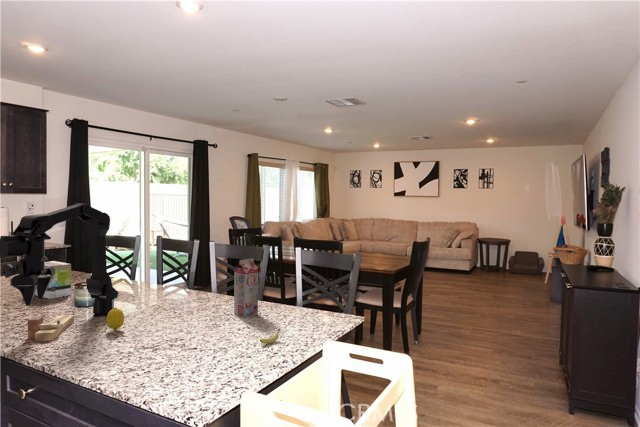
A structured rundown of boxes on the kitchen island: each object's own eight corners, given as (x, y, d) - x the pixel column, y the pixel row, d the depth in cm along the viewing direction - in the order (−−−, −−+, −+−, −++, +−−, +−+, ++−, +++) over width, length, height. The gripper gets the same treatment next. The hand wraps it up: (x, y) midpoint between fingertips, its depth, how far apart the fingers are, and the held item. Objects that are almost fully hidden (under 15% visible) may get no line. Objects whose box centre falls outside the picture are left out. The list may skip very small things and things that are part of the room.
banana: (278, 339, 141) (278, 327, 141) (281, 340, 140) (281, 328, 140) (258, 345, 135) (258, 332, 135) (262, 346, 134) (262, 334, 134)
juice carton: (257, 314, 170) (258, 259, 169) (244, 317, 165) (244, 261, 164) (247, 310, 174) (248, 257, 173) (234, 314, 169) (234, 259, 168)
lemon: (106, 334, 143) (106, 310, 143) (106, 329, 148) (106, 306, 148) (124, 331, 146) (124, 308, 145) (123, 327, 150) (123, 304, 150)
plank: (74, 321, 156) (73, 315, 156) (52, 340, 136) (52, 332, 136) (58, 322, 155) (58, 315, 154) (35, 341, 135) (34, 333, 135)
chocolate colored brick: (63, 333, 143) (63, 315, 143) (58, 337, 139) (58, 319, 139) (33, 334, 141) (32, 316, 141) (27, 338, 137) (27, 320, 137)
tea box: (72, 295, 195) (71, 263, 194) (48, 299, 186) (48, 266, 185) (55, 290, 203) (55, 260, 202) (31, 294, 194) (31, 262, 194)
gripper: (19, 250, 146) (19, 296, 146) (-10, 258, 127) (-10, 310, 128) (55, 250, 148) (55, 295, 149) (32, 258, 130) (32, 309, 130)
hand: (34, 302), depth 139 cm, fingers open, 9 cm apart
